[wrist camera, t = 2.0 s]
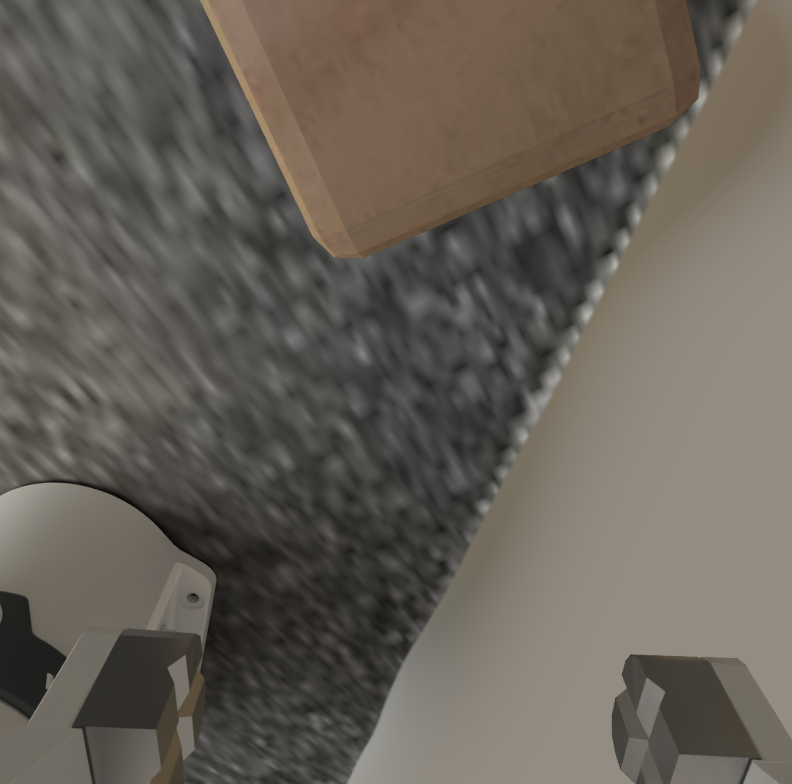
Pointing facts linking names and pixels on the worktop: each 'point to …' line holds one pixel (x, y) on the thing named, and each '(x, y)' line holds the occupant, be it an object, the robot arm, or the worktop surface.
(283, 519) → the worktop surface
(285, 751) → the worktop surface
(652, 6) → the block
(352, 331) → the worktop surface
